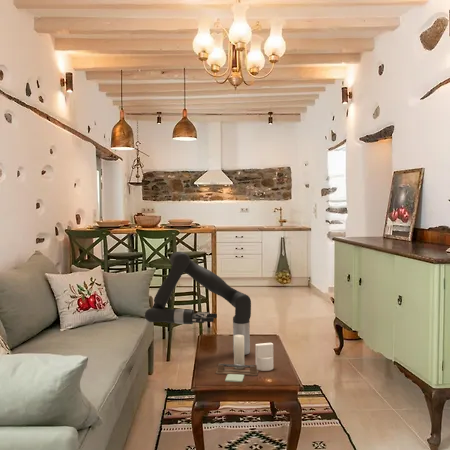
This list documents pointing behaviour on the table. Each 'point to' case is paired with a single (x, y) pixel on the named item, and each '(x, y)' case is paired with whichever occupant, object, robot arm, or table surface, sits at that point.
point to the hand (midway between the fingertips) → (215, 317)
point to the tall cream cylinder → (239, 350)
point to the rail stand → (250, 372)
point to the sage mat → (234, 378)
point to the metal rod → (236, 365)
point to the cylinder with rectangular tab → (264, 356)
